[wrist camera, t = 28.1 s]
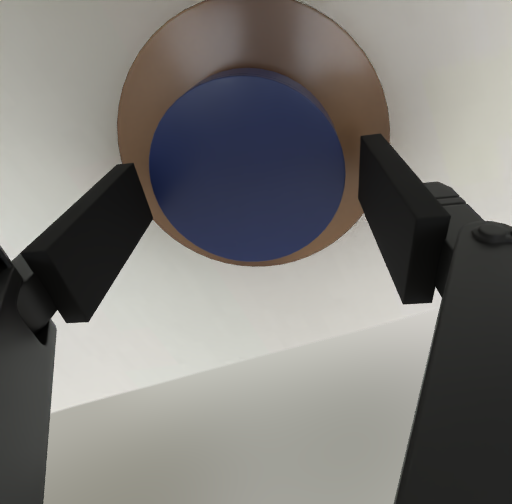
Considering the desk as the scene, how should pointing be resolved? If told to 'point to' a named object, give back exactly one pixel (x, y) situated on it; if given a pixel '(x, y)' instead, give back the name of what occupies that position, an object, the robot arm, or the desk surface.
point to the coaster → (261, 57)
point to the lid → (247, 165)
